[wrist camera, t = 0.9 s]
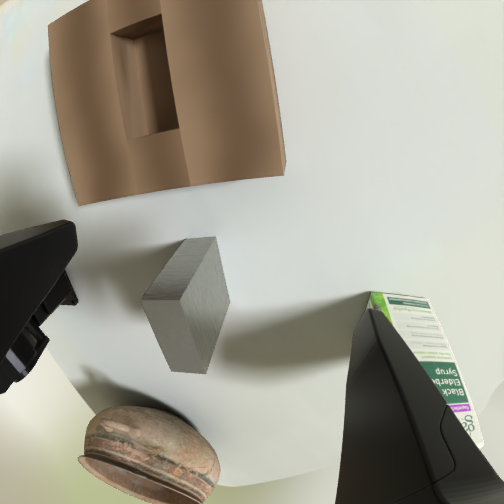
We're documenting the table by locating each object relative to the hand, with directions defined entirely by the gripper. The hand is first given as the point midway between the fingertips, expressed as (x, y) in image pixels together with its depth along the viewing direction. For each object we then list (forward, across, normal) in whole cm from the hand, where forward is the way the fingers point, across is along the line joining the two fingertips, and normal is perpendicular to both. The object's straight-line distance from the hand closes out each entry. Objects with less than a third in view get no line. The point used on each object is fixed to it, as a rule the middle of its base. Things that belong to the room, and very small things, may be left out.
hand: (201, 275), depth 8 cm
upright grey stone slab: (+13, +3, +10) cm, 16 cm away
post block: (+13, +8, -4) cm, 16 cm away
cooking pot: (+11, +7, +37) cm, 40 cm away
